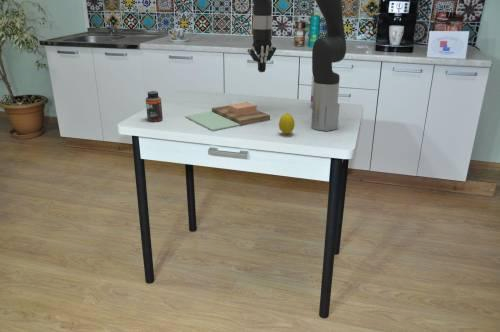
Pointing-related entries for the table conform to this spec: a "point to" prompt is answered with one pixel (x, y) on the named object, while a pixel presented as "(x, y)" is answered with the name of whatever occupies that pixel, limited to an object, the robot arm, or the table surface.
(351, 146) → the table surface
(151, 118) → the supplement bottle
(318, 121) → the robot arm
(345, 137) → the table surface
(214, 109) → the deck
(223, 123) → the mat
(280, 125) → the lemon
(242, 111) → the tile
